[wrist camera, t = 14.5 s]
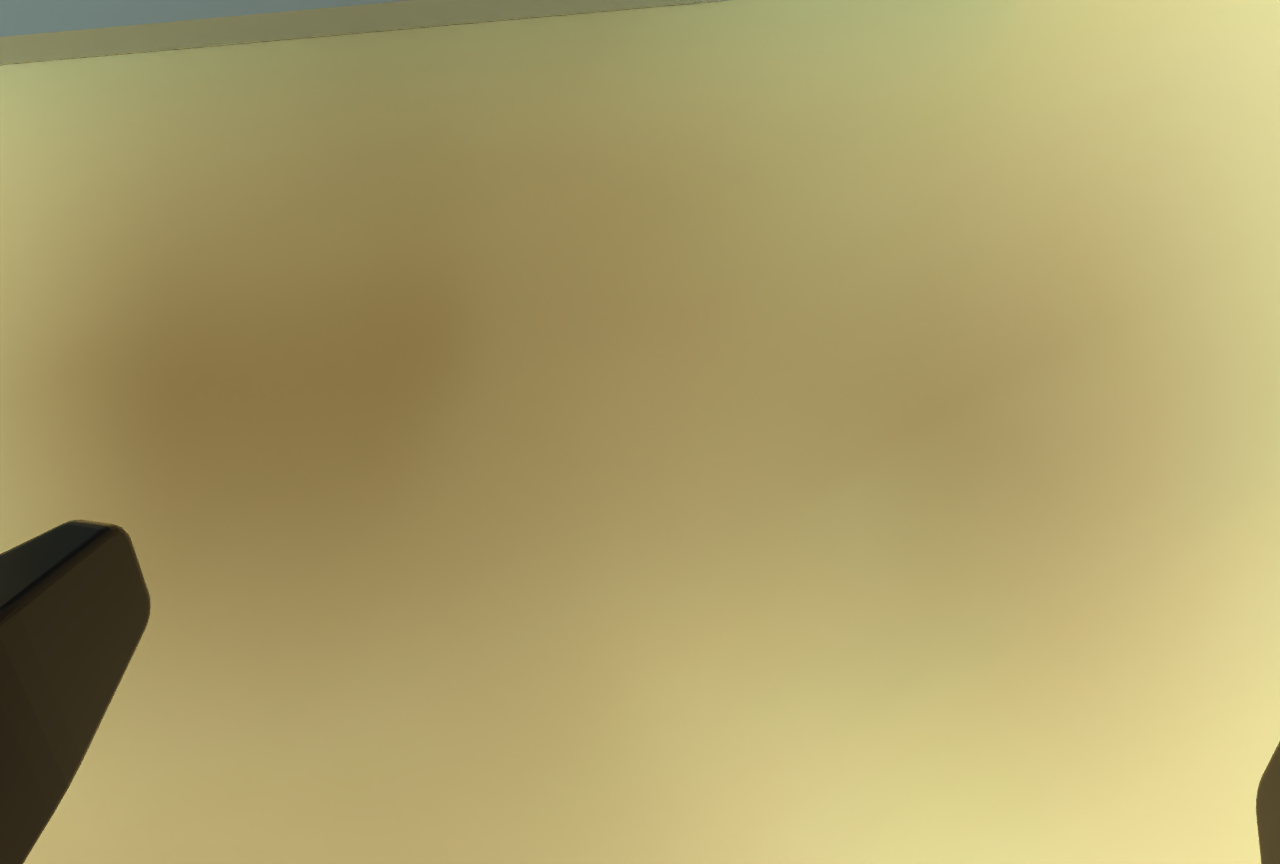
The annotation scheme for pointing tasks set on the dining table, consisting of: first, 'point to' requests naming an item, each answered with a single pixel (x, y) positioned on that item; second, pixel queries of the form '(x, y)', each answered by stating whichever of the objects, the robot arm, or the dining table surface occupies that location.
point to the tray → (244, 21)
